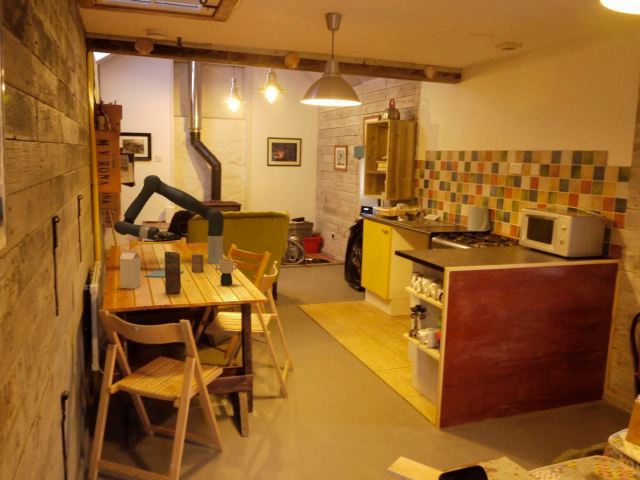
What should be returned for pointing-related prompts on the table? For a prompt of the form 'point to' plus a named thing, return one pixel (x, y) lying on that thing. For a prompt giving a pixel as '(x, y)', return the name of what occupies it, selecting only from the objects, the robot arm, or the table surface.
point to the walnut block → (197, 263)
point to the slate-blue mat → (158, 274)
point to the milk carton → (130, 269)
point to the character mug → (226, 270)
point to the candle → (172, 272)
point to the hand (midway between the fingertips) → (176, 237)
